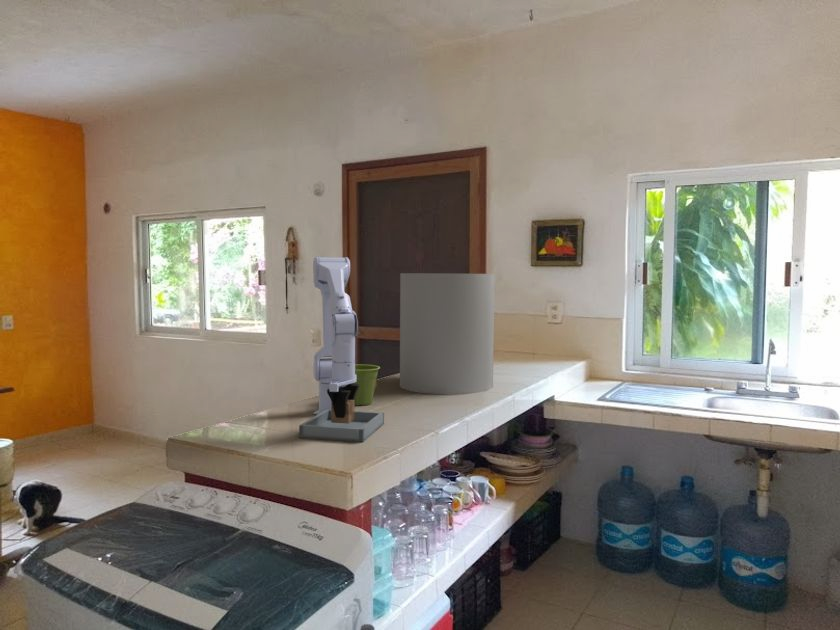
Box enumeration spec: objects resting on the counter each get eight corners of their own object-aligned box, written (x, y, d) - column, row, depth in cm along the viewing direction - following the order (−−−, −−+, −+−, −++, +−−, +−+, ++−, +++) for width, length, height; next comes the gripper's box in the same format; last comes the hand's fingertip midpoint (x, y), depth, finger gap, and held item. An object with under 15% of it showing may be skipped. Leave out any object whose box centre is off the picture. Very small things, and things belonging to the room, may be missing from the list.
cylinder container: (472, 398, 192) (473, 273, 190) (382, 389, 206) (383, 273, 204) (504, 381, 223) (506, 274, 220) (424, 374, 237) (425, 273, 234)
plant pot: (373, 408, 176) (374, 370, 175) (335, 406, 178) (335, 369, 177) (384, 400, 187) (384, 364, 187) (348, 398, 190) (348, 363, 189)
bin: (326, 420, 161) (326, 409, 161) (384, 423, 157) (384, 412, 157) (299, 437, 143) (299, 425, 143) (362, 442, 140) (362, 429, 140)
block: (337, 418, 153) (337, 399, 153) (354, 419, 152) (354, 399, 152) (331, 422, 148) (331, 402, 148) (348, 423, 147) (348, 403, 147)
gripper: (338, 357, 157) (338, 408, 158) (317, 364, 143) (317, 420, 144) (364, 358, 156) (364, 409, 156) (345, 366, 141) (345, 422, 142)
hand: (343, 415), depth 150 cm, fingers closed on block, 4 cm apart
